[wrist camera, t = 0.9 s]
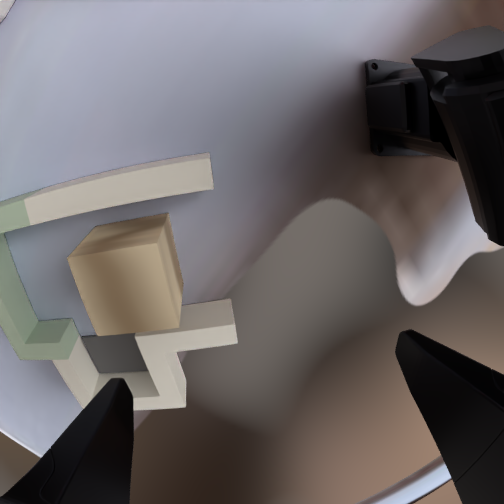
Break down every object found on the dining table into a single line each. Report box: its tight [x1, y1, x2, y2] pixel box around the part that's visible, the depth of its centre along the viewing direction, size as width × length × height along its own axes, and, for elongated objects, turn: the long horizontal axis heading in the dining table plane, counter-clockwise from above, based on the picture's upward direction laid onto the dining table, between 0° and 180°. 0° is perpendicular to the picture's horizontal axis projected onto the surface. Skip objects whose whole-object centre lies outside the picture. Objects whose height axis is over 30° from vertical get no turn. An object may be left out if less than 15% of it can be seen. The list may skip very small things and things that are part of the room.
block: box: [67, 213, 184, 336], centre depth 17 cm, size 5×5×5 cm
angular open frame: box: [0, 152, 238, 410], centre depth 19 cm, size 18×18×3 cm
